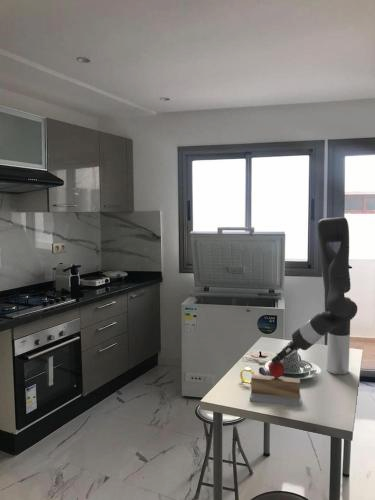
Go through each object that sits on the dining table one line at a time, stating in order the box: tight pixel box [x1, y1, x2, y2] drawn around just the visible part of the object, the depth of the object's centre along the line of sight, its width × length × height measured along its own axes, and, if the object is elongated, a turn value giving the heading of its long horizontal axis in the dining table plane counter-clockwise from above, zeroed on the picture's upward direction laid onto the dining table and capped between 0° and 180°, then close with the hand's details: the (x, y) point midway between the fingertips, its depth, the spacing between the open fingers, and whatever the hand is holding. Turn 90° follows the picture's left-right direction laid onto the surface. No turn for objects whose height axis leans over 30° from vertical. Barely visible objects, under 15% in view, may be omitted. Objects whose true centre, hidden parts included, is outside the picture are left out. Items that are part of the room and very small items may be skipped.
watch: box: [239, 366, 256, 384], centre depth 177 cm, size 6×3×6 cm, turn 61°
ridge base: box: [249, 392, 300, 407], centre depth 164 cm, size 12×18×1 cm, turn 75°
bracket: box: [258, 366, 270, 376], centre depth 182 cm, size 14×15×3 cm
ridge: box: [250, 373, 301, 398], centre depth 164 cm, size 4×18×6 cm, turn 75°
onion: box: [268, 360, 286, 378], centre depth 163 cm, size 6×6×8 cm
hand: (277, 359), depth 162 cm, fingers open, 8 cm apart
